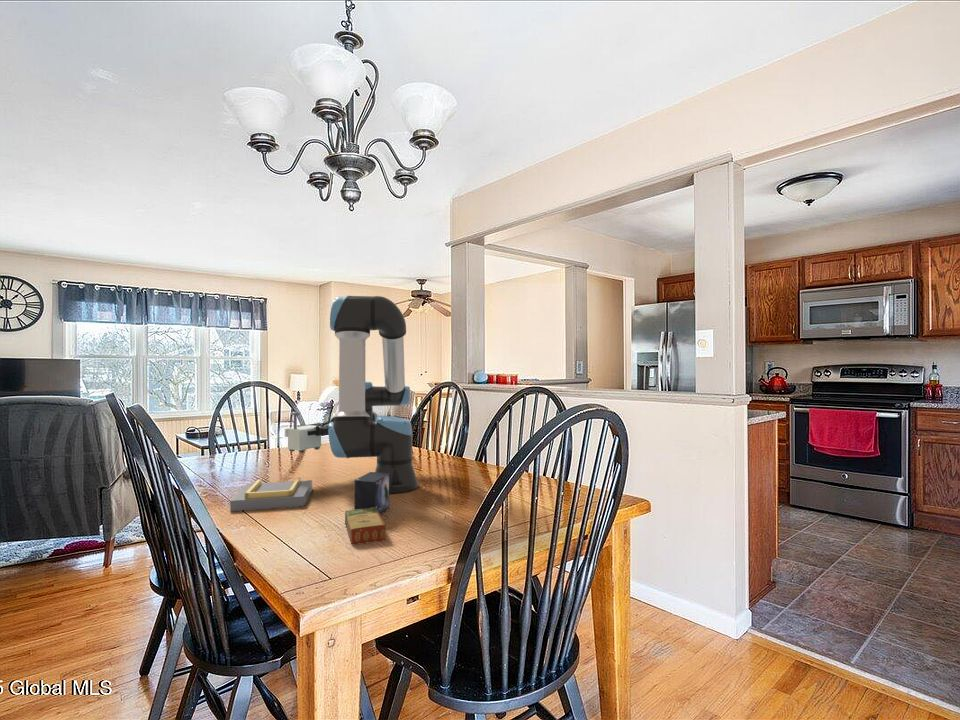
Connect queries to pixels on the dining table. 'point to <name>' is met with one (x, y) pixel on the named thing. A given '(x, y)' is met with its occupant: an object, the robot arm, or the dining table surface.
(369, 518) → the carton
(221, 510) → the dining table surface
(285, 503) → the dock
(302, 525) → the dining table surface
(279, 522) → the dining table surface
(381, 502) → the small box
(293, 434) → the plunger detonator box
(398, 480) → the robot arm
